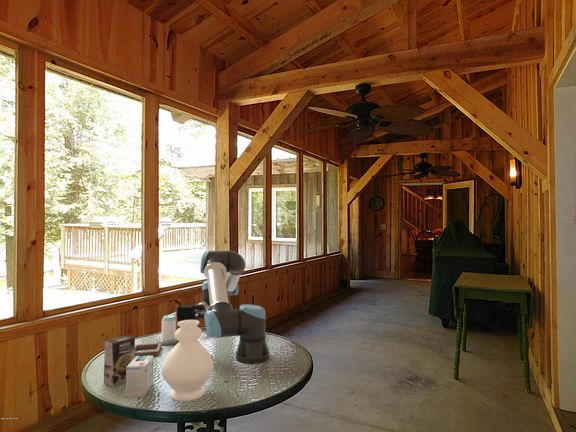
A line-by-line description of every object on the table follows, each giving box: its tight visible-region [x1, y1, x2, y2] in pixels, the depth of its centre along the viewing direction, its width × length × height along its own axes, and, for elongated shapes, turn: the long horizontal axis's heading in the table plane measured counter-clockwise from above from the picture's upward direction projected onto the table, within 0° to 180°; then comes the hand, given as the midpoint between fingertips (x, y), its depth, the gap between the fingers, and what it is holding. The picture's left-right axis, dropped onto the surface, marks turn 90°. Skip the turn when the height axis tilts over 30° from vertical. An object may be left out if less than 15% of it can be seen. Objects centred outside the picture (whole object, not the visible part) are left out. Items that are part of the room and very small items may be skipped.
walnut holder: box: [135, 342, 162, 357], centre depth 174 cm, size 12×12×2 cm
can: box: [160, 314, 177, 341], centre depth 190 cm, size 7×7×12 cm
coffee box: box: [103, 335, 136, 388], centre depth 142 cm, size 9×6×16 cm
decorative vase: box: [161, 319, 214, 402], centre depth 132 cm, size 18×18×25 cm
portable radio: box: [176, 303, 196, 345], centre depth 171 cm, size 8×6×25 cm
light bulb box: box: [125, 356, 154, 398], centre depth 134 cm, size 11×7×11 cm, turn 5°
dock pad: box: [155, 337, 177, 347], centre depth 190 cm, size 12×12×1 cm
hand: (179, 318), depth 199 cm, fingers open, 13 cm apart
